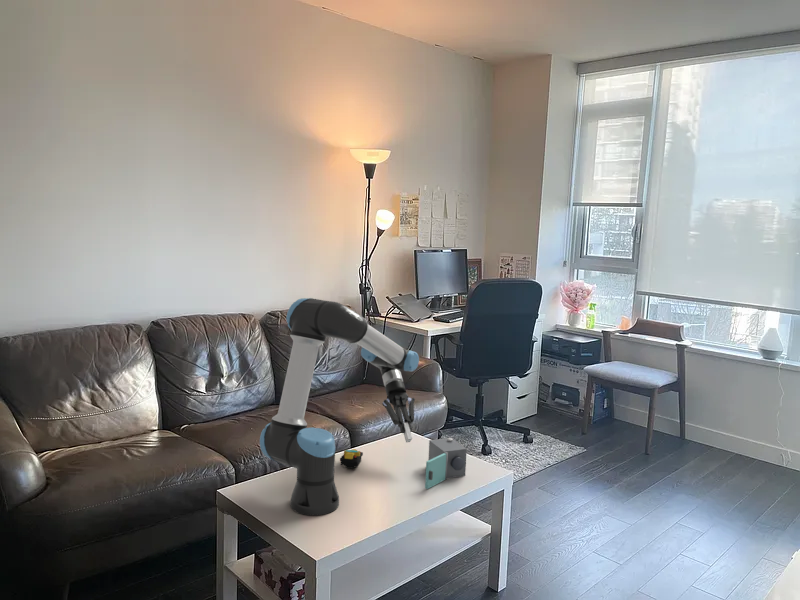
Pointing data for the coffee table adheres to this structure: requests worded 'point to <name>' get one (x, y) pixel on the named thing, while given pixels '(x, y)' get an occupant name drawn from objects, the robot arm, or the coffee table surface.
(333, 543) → the coffee table surface
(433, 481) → the side door
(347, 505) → the coffee table surface
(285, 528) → the coffee table surface
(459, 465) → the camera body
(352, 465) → the gadget
